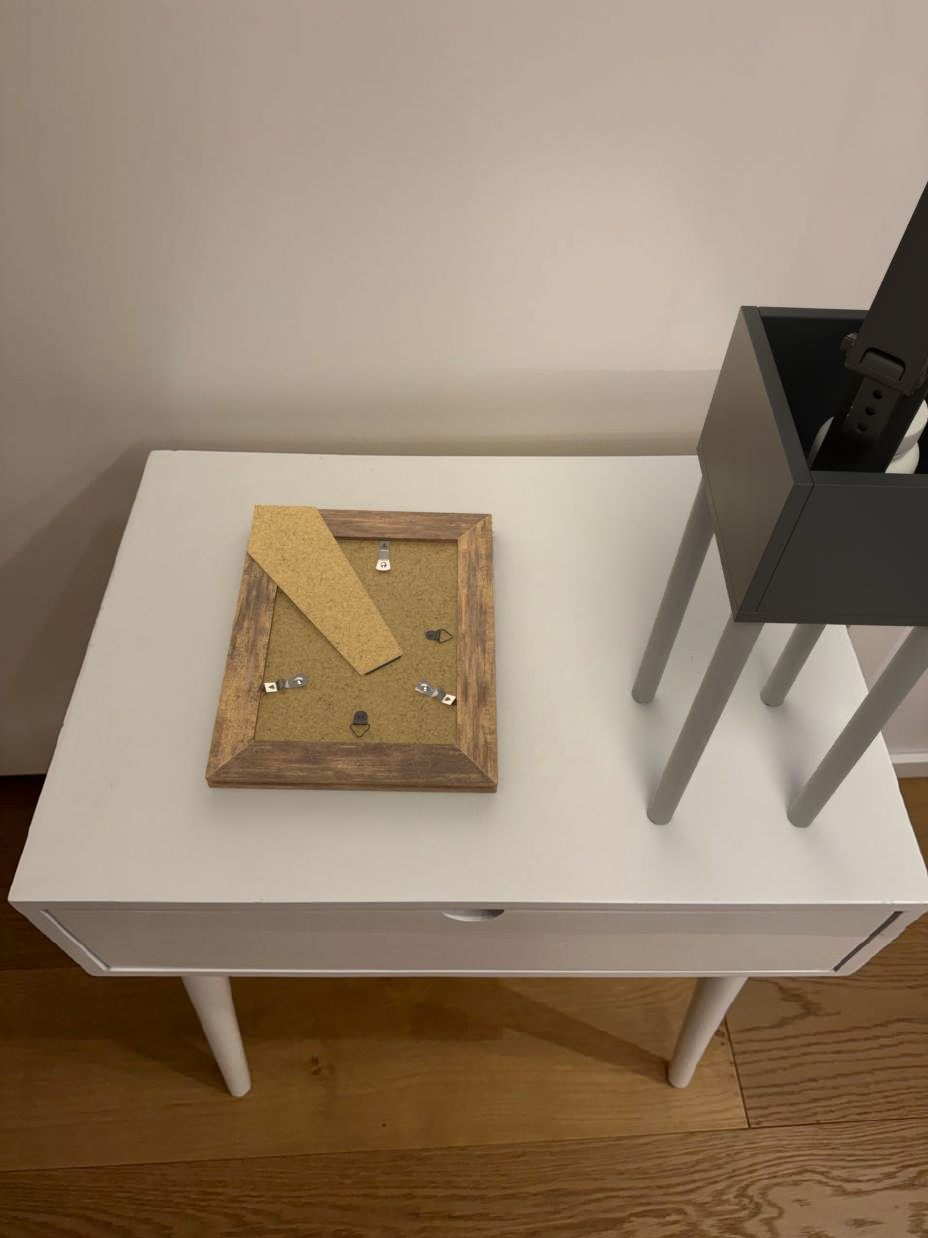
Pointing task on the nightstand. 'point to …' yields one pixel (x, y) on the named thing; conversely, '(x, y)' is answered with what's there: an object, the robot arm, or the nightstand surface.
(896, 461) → the pill bottle
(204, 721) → the nightstand surface
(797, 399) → the legged open box
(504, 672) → the nightstand surface
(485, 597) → the picture frame
